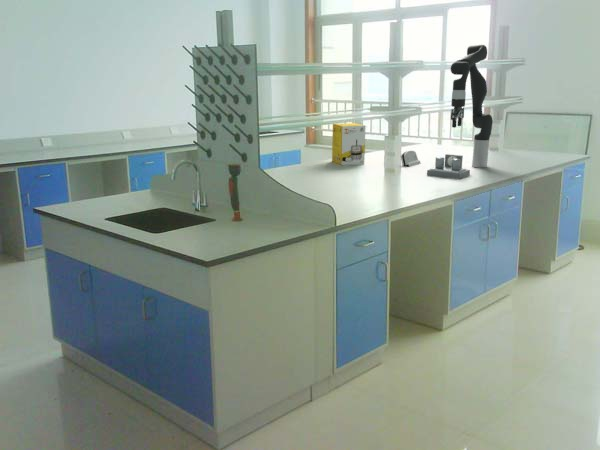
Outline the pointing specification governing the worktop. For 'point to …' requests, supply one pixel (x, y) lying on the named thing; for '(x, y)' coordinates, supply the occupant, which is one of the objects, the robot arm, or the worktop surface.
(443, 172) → the scale
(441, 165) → the cylinder
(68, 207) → the worktop surface
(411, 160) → the grey rounded panel
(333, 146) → the packaging box
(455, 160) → the cylinder
